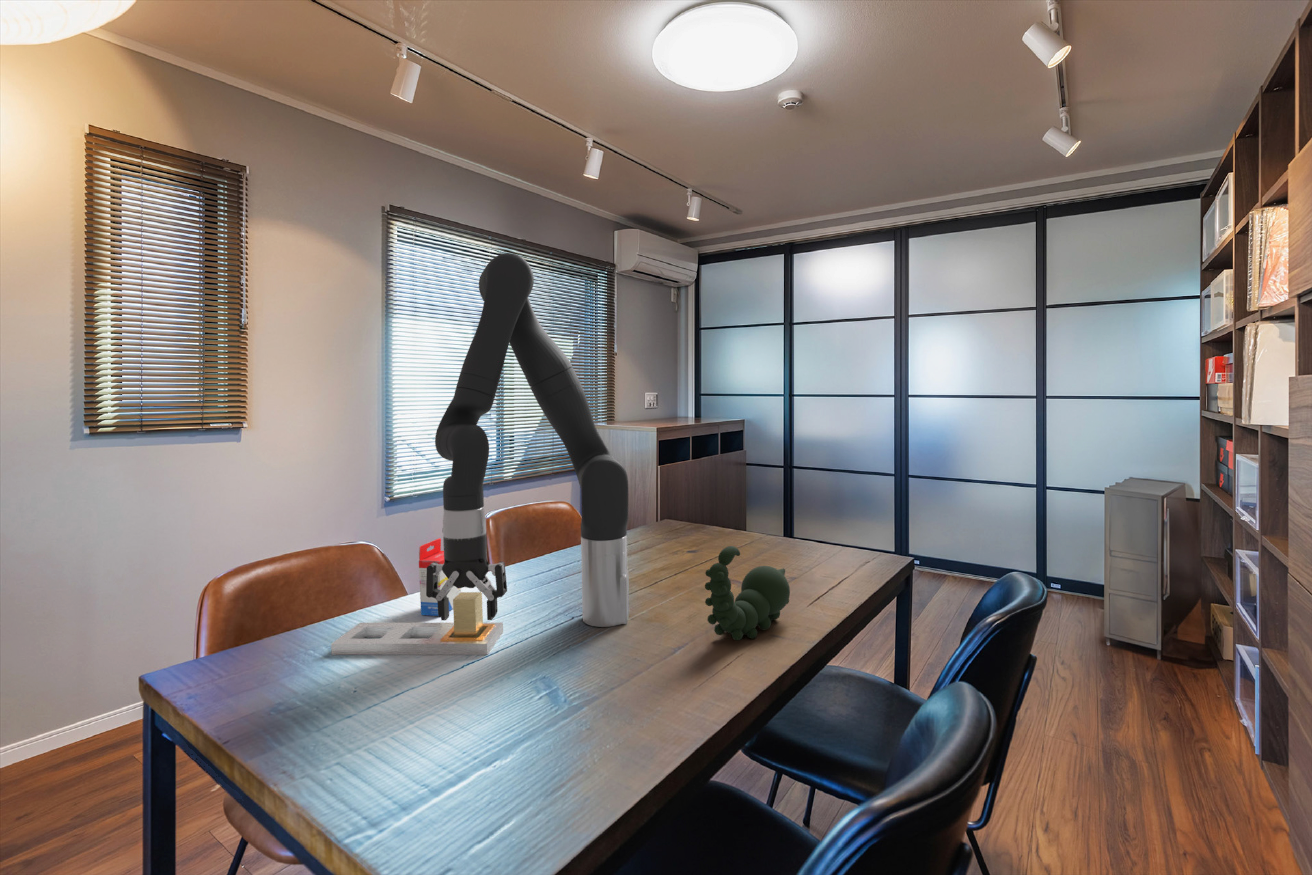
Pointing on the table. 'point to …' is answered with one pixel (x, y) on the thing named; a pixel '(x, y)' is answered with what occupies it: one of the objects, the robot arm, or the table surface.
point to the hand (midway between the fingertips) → (468, 618)
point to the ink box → (436, 555)
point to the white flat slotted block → (414, 640)
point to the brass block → (468, 615)
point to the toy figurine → (745, 597)
